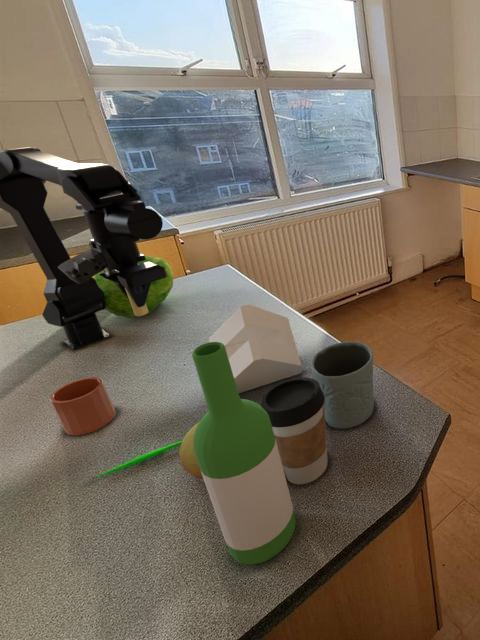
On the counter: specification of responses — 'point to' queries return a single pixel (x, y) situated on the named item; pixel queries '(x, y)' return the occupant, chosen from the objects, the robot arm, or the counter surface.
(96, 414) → the cup
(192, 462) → the apple
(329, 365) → the grey green pot
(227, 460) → the bottle
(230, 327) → the beige block
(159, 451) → the leaf
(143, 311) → the tan solid cylinder
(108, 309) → the lettuce
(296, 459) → the coffee cup
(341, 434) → the counter surface
